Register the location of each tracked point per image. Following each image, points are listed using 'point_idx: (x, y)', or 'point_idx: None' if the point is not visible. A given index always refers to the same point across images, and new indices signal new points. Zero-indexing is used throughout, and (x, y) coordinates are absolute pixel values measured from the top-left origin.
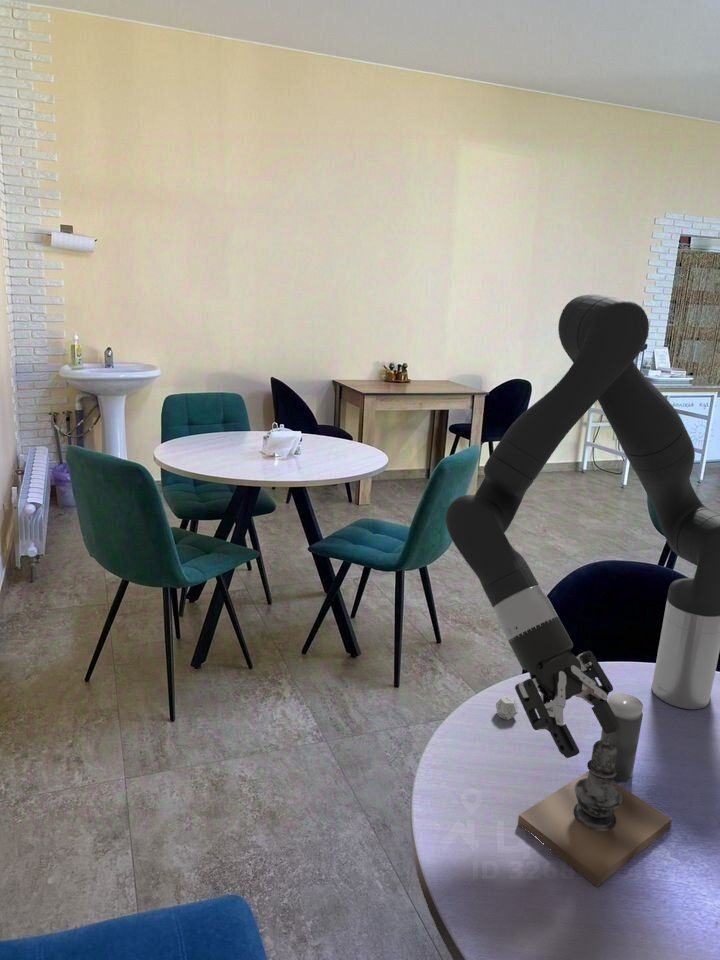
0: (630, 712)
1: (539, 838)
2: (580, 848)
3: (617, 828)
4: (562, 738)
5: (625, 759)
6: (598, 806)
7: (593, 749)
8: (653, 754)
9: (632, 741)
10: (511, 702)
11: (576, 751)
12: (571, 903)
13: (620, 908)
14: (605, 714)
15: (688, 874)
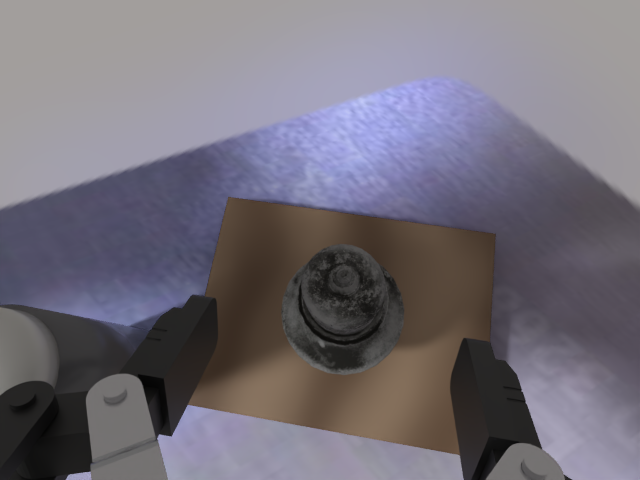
0: (27, 328)
1: None
2: (458, 294)
3: None
4: (522, 412)
5: (129, 333)
6: (391, 286)
7: (371, 319)
8: None
9: (88, 320)
10: None
11: (486, 342)
12: (559, 257)
13: (494, 192)
14: (188, 354)
15: (325, 142)
